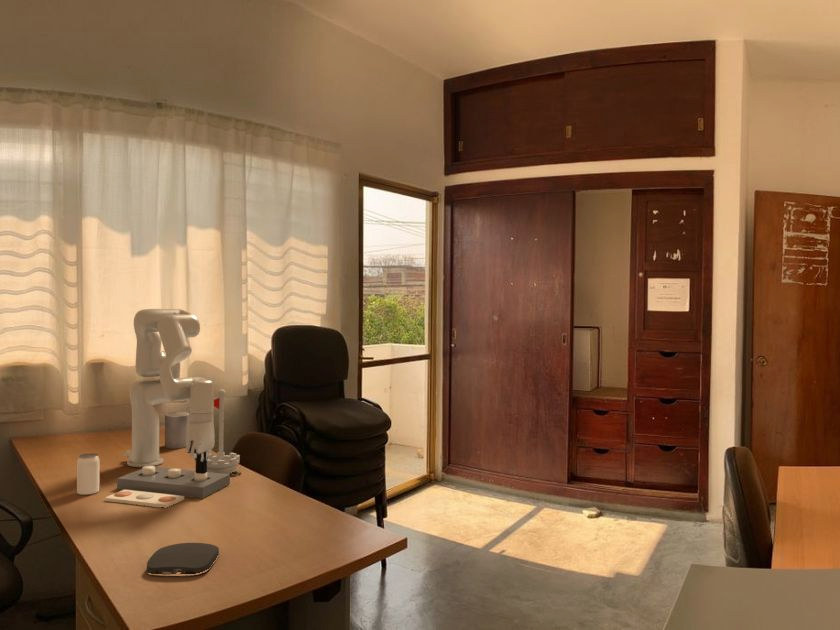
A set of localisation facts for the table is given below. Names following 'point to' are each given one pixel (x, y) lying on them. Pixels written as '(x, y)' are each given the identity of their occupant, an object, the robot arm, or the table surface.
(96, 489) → the can
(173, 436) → the pillar candle
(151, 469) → the left button
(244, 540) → the table surface
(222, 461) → the flag stand
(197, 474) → the right button
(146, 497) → the pattern card
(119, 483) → the button panel
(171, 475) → the middle button
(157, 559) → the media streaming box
